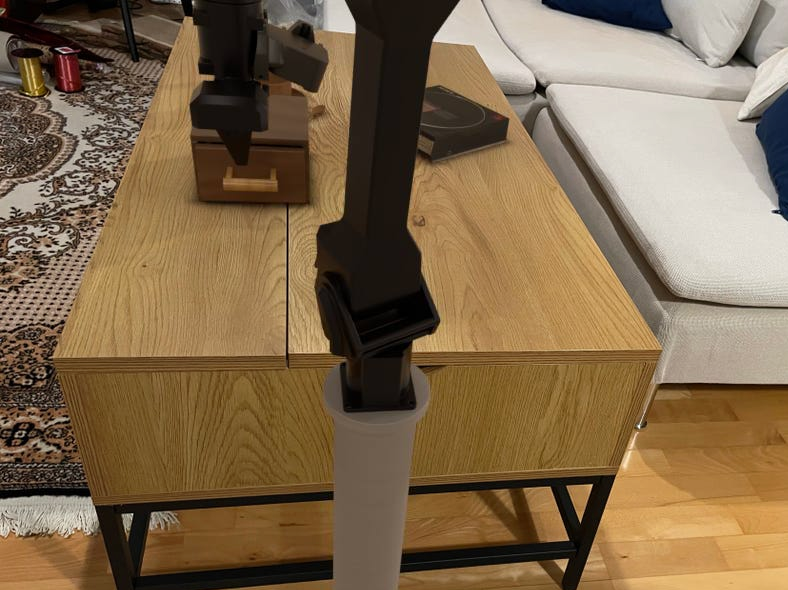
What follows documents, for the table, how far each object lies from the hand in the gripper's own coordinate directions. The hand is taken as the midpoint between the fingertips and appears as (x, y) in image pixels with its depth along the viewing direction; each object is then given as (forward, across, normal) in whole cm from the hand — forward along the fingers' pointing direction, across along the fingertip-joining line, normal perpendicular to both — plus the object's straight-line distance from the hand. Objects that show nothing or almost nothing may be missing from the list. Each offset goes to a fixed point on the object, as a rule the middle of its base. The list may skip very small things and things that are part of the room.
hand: (242, 164), depth 71 cm
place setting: (+12, +51, -3) cm, 53 cm away
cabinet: (+12, +22, 0) cm, 25 cm away
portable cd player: (+12, +40, -27) cm, 50 cm away
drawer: (+11, +18, 0) cm, 21 cm away
